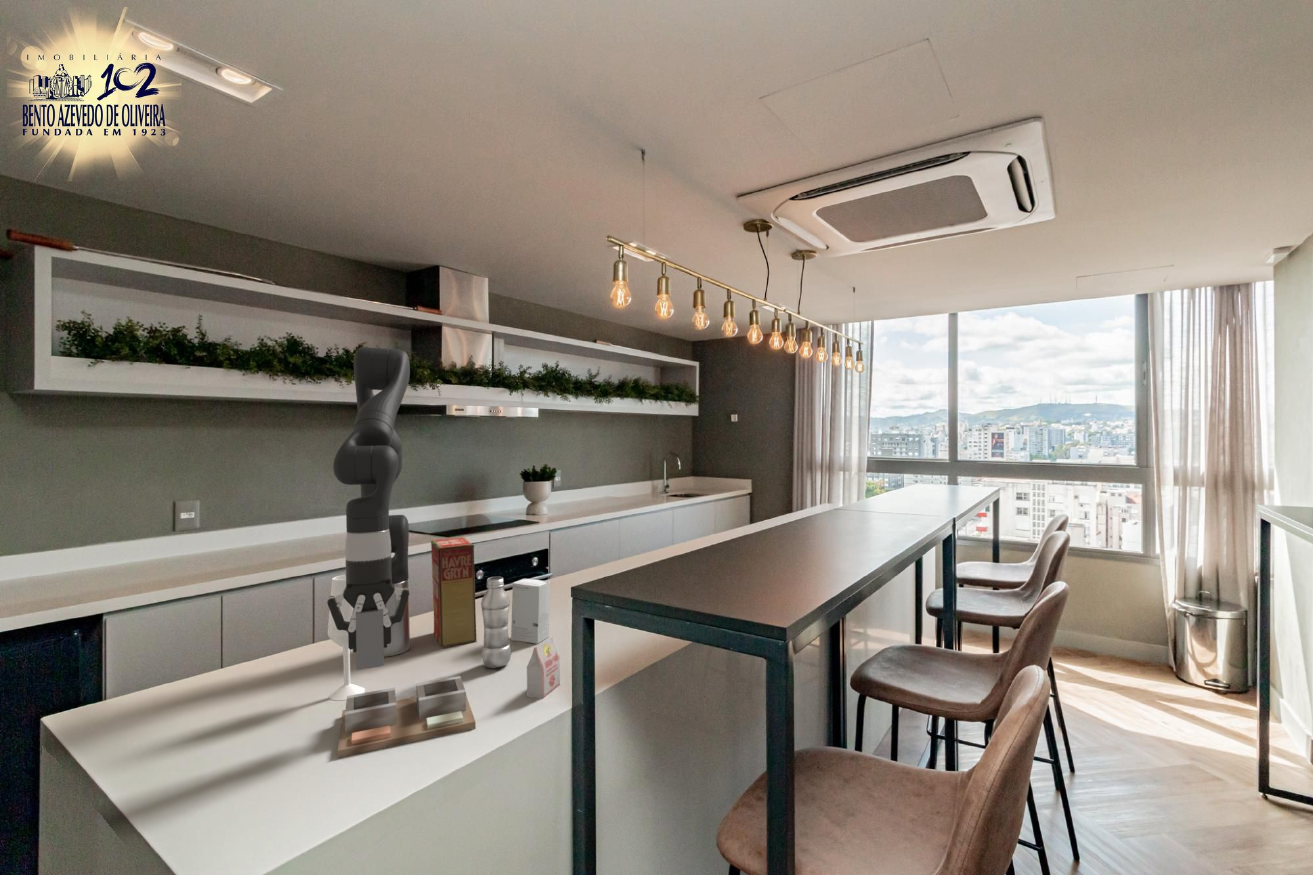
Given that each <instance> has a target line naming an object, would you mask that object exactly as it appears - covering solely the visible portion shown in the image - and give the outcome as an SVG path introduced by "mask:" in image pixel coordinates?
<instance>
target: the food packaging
mask: <svg viewBox="0 0 1313 875" xmlns="http://www.w3.org/2000/svg"><path fill="white" fill-rule="evenodd" d="M430 546H431V572H432V573H431V574H432V580H431V581H432V600H433V601H432V602H433V604H432V605H433V635H434V636H435V639H436V641H437V643H438V646H439V647H440V648H441V649H443V648H447V647H448V646H449V647H453V646H454V645H455V646H460V645H465V644H470V643H475V642H477V620H476V619H477V616H476V580H475V578H476V577H475V545H474V544H473V543H471V542H470V541H469V540H468V539H466V538H465V537H464V536H463V537H452V538H443V539H442V538H441V539H433V540H431V541H430ZM442 647H443V648H442Z"/></svg>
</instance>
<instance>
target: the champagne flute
mask: <svg viewBox="0 0 1313 875" xmlns="http://www.w3.org/2000/svg"><path fill="white" fill-rule="evenodd" d="M330 588H331V589H330V596H337V595H339V594H342V593H343V592H344V590H345V588H346V574H340V575H338V576H334V577H332V578H331V586H330ZM353 609H354V608H353V607H352V606H351V605H350V604H349V603H348V602H347V601H346V600H345V599H343V600H342V606H341V607H340V611H341V613H342V616H343V619H344V621H347V622H350V619H351V616H352V612H353ZM328 610H329V611H328V622H327V624H328V625H327V636H328V637H329V640H331V641H332V642H333V643H334V644H336V645H337V646H339V647H342V649H343V650H342V651H343V652H342V653H343V655H342V656H343V658H342V660H343V684H342V685H341V686H340V687H339V688H337V689H335V690H334V691H333V692H331V693H330V694H329V696H328V698H329V699H330V700H331V701H346V700H347V696H350V695H356V694H361V693H366V688H364V687H362V686H360V685H356V684H354V683H351V654H350V651H351V650H350V649H349V646H348V632H347V631H345V630H338V629H337V627H336V625H335V622H334V620H333V617H332V614H331V612H330V609H329V608H328Z"/></svg>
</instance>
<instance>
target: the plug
mask: <svg viewBox="0 0 1313 875" xmlns="http://www.w3.org/2000/svg"><path fill="white" fill-rule="evenodd" d="M356 651H357V652H356V671H360V670H365V669H371V668H373V669H374V668H379V667H384V666H385V657H384V638H383V609H382V610H378V609H377V610H369V611H361V613H357V612H356Z"/></svg>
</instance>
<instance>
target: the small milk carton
mask: <svg viewBox="0 0 1313 875" xmlns="http://www.w3.org/2000/svg"><path fill="white" fill-rule="evenodd" d="M560 660H561V658H560V655H559V653H558V650H557V648H556V645H555V642H554V638H553V637H552V636H549V637H548V638H547V639H545V640H543V641H541V642H540V643H538V644H537V645H536V646H535V647H533V650H532V654H531V657H530V659H529V660H528V664H527V665H526V696H527V697H532V698H538V699H544V698H546V697H547V696H549V694H551V693H552V692H553V691H555V689H557V688H558V687H559V686H561V684H560V683H561V671H560V669H561V667H560V665H561V663H560V662H561V661H560Z"/></svg>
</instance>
